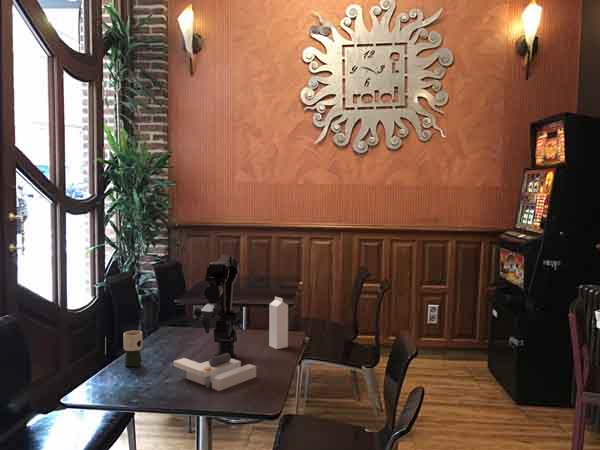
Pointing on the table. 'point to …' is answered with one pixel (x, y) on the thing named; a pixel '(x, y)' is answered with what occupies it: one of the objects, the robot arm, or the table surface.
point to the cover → (194, 367)
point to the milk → (278, 324)
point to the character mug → (132, 347)
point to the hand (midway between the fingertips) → (217, 335)
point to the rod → (219, 359)
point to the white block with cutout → (225, 374)
